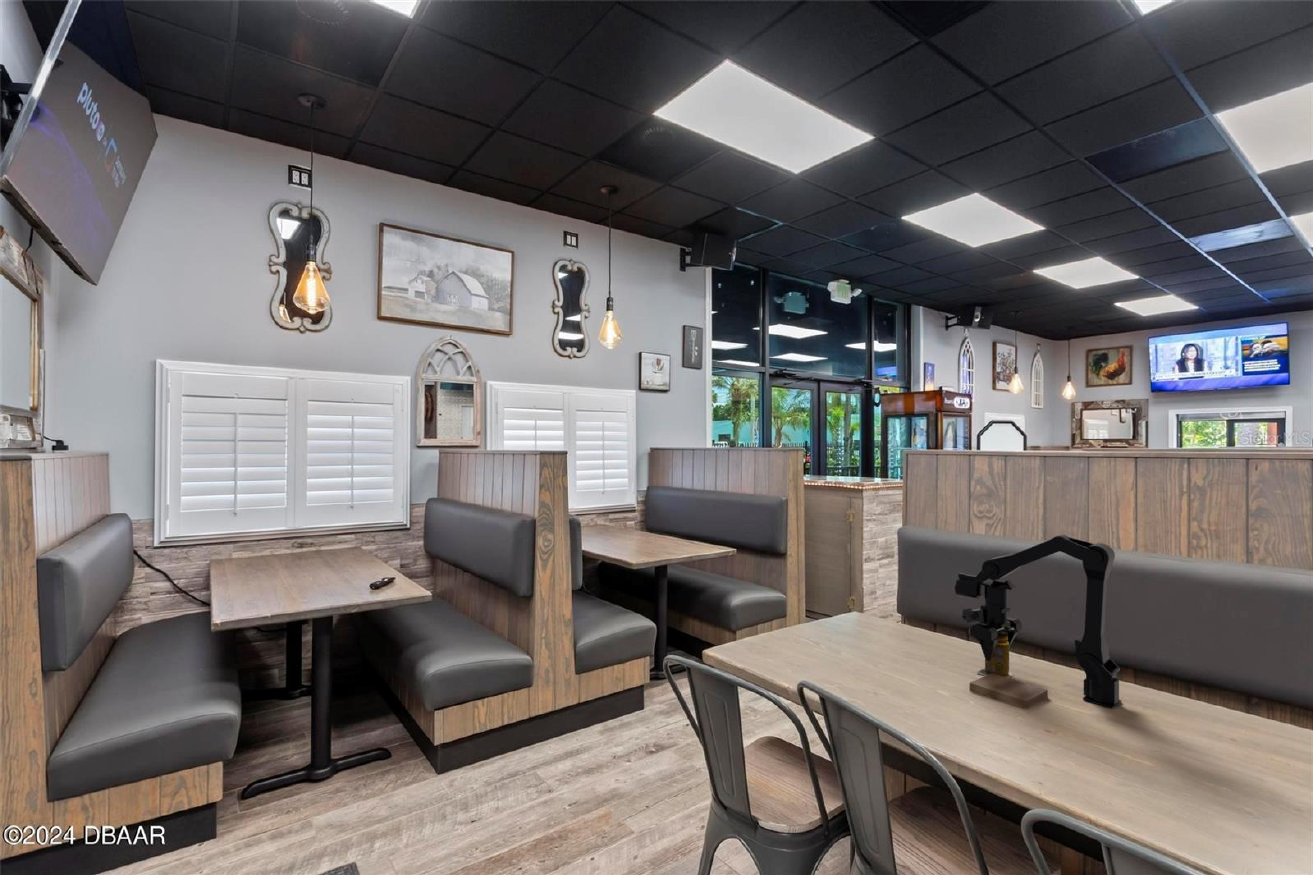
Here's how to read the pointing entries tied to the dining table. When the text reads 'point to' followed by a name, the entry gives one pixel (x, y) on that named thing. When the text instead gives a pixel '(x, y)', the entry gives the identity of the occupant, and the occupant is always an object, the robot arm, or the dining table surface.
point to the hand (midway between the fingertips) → (995, 657)
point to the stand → (1009, 690)
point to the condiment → (999, 657)
